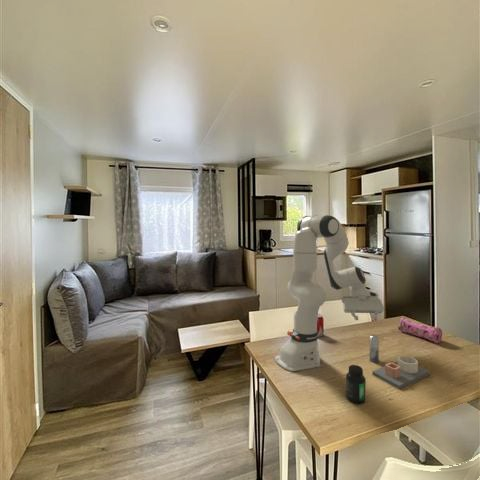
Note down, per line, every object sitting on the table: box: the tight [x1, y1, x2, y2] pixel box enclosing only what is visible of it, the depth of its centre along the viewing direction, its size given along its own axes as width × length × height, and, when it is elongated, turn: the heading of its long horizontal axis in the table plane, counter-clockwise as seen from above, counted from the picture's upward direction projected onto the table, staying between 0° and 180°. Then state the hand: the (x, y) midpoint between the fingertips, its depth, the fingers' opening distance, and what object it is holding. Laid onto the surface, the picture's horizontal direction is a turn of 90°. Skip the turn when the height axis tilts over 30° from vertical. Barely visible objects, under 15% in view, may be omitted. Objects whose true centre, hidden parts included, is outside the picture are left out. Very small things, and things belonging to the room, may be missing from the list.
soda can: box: [317, 313, 325, 338], centre depth 160 cm, size 7×7×12 cm
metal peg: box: [368, 334, 380, 364], centre depth 129 cm, size 4×4×12 cm
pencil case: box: [397, 316, 443, 344], centre depth 155 cm, size 21×9×9 cm, turn 27°
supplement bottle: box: [345, 364, 367, 405], centre depth 101 cm, size 7×7×12 cm
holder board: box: [371, 355, 430, 390], centre depth 117 cm, size 21×12×6 cm, turn 117°
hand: (366, 320), depth 140 cm, fingers open, 8 cm apart
